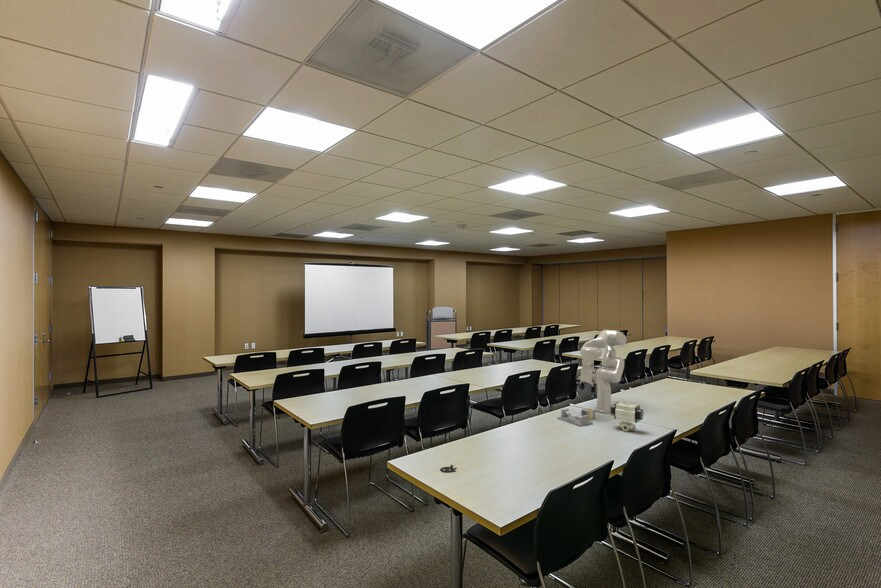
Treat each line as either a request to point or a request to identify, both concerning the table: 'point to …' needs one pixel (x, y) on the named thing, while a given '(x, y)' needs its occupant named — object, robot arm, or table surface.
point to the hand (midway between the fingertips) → (587, 390)
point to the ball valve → (627, 414)
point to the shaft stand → (574, 418)
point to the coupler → (588, 413)
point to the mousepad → (448, 469)
